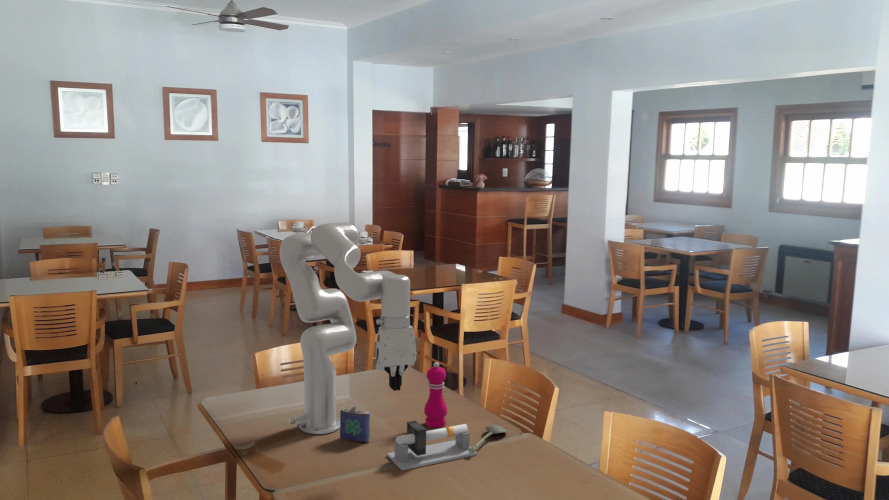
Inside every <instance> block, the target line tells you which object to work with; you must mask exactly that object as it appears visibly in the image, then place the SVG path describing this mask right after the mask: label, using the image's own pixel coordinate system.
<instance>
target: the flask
mask: <svg viewBox="0 0 889 500" xmlns="http://www.w3.org/2000/svg"><path fill="white" fill-rule="evenodd" d="M358 406H359V405H358V404H353V405H352V406H351V407H352V408H349V407H344V408H341V409H340V412H339V414H340V416H339V417H340V418H339V420H340V428H339V438H340V440H341V441H342V442H343V441H344V442H348V443H358V444H369V443H370V441H371V435H370V434H371V432H370V431H371V426H370V425H371V412H370V411H369V410H358Z"/></svg>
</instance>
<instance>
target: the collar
mask: <svg viewBox="0 0 889 500" xmlns="http://www.w3.org/2000/svg"><path fill="white" fill-rule="evenodd" d="M426 431H427V428H425V427H424V426H423V425H422V424H420V423H419V422H418V421H416V420H410V421H407V422H406V435H408V434H414V435H415V443H413V444H408V449H411V450H412V451H413V452H414V453H415V454H416V455H417V456H419V455H424V454H426V446H427V441H426Z"/></svg>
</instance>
